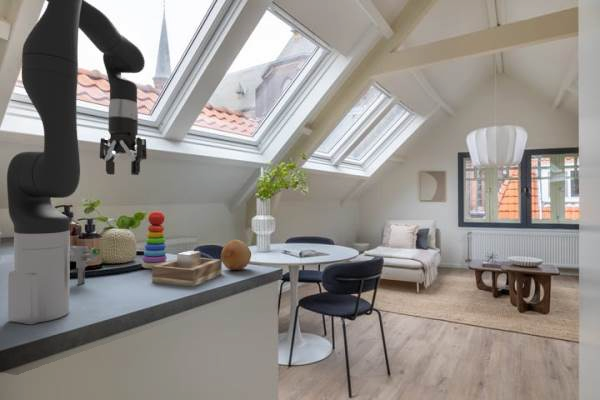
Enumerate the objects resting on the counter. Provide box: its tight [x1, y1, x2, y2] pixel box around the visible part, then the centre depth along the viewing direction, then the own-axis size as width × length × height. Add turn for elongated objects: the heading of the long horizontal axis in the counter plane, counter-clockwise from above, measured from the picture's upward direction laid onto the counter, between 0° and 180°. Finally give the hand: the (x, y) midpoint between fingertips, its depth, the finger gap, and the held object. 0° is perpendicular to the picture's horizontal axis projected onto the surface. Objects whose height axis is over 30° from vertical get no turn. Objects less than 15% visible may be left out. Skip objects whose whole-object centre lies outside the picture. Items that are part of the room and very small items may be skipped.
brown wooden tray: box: [151, 257, 223, 287], centre depth 107 cm, size 16×13×4 cm
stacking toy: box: [141, 210, 168, 269], centre depth 121 cm, size 8×8×19 cm
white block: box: [176, 250, 202, 269], centre depth 107 cm, size 6×4×6 cm, turn 163°
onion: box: [220, 239, 252, 271], centre depth 120 cm, size 10×10×10 cm
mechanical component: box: [70, 245, 101, 285], centre depth 98 cm, size 3×10×10 cm, turn 79°
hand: (122, 174), depth 104 cm, fingers open, 8 cm apart
